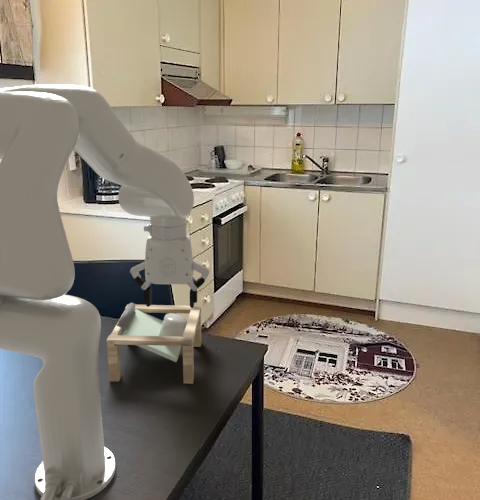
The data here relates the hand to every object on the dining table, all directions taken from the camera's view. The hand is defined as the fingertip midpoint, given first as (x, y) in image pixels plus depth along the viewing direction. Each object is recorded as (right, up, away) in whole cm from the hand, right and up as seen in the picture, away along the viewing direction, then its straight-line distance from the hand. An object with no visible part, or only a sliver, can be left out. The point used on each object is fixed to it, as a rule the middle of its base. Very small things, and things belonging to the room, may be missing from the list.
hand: (170, 304), depth 112 cm
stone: (-1, -8, +2) cm, 8 cm away
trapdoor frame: (-3, -13, +4) cm, 15 cm away
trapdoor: (-5, -7, +2) cm, 9 cm away
